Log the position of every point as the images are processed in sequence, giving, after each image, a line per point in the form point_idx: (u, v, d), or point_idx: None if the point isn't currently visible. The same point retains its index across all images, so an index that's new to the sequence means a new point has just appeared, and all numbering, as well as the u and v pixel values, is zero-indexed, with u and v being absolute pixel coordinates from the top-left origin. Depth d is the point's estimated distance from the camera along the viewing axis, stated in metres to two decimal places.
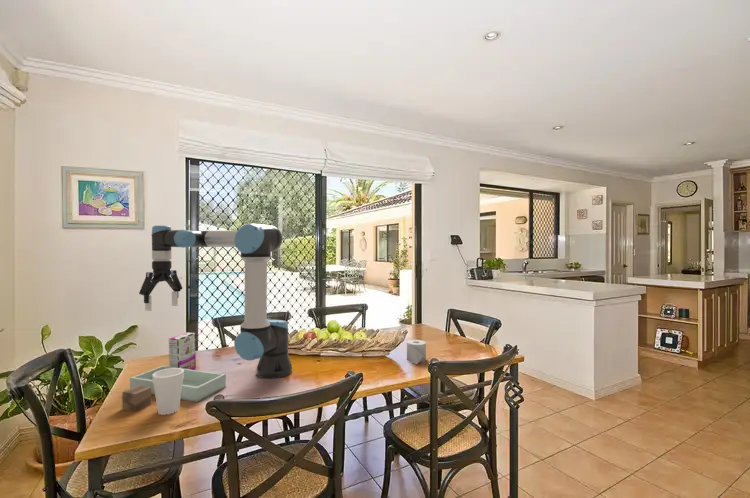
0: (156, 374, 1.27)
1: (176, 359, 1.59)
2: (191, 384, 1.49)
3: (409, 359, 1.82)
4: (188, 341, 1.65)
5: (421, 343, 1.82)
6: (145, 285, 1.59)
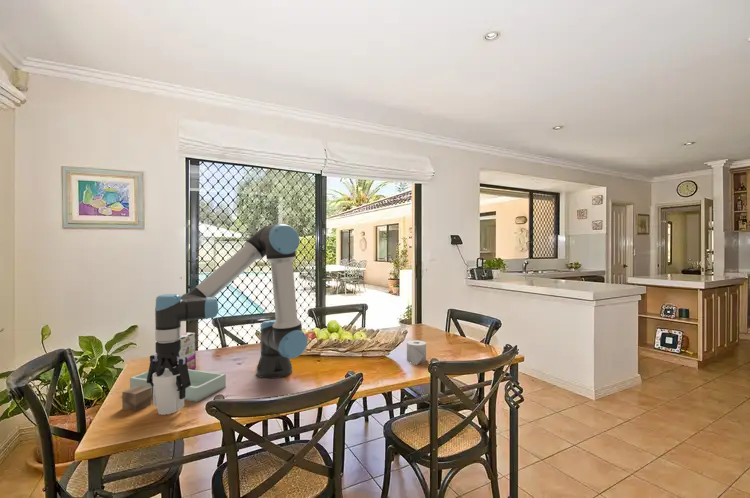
0: (156, 374, 1.27)
1: None
2: (191, 384, 1.49)
3: (409, 360, 1.81)
4: (188, 341, 1.65)
5: (421, 343, 1.82)
6: None
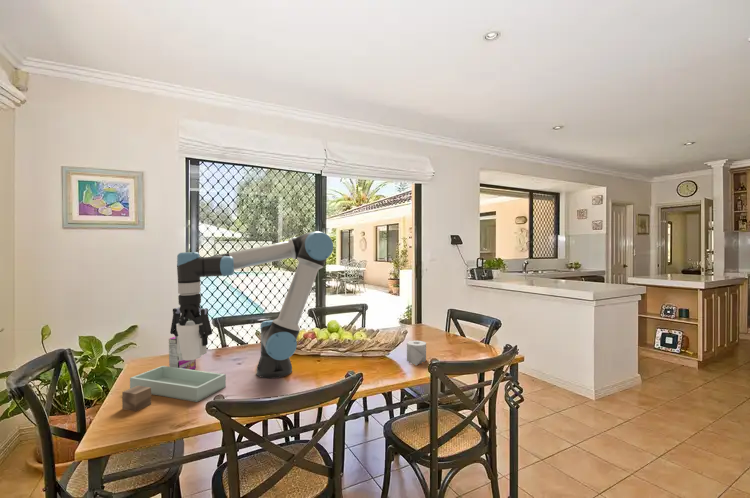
0: (179, 325, 1.39)
1: (176, 359, 1.59)
2: (191, 384, 1.49)
3: (409, 360, 1.80)
4: None
5: (421, 344, 1.81)
6: None
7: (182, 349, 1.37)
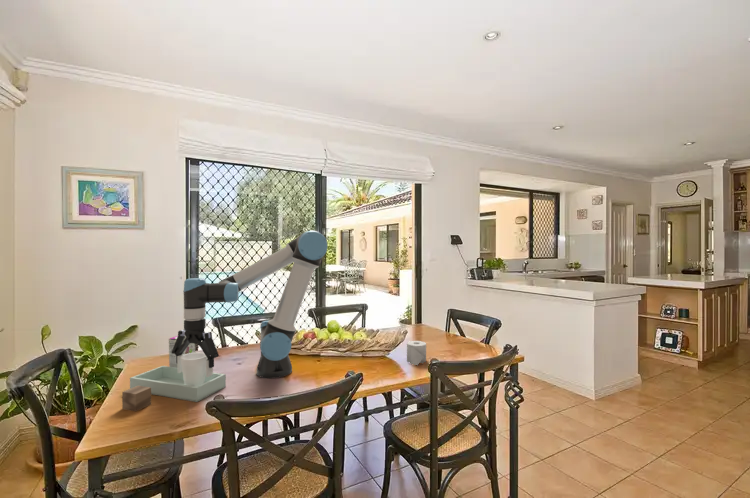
0: (183, 357, 1.44)
1: None
2: None
3: (409, 360, 1.80)
4: None
5: (421, 344, 1.81)
6: None
7: (185, 381, 1.41)
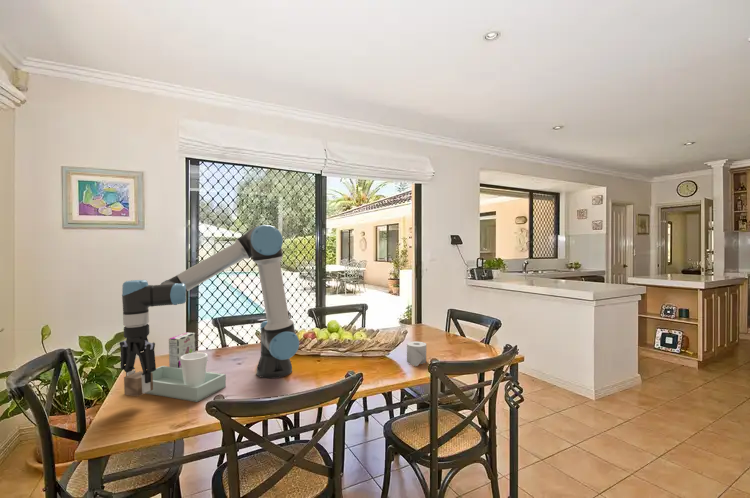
0: (183, 357, 1.44)
1: (176, 359, 1.59)
2: None
3: (409, 361, 1.79)
4: (188, 341, 1.65)
5: (421, 345, 1.79)
6: None
7: (185, 382, 1.41)
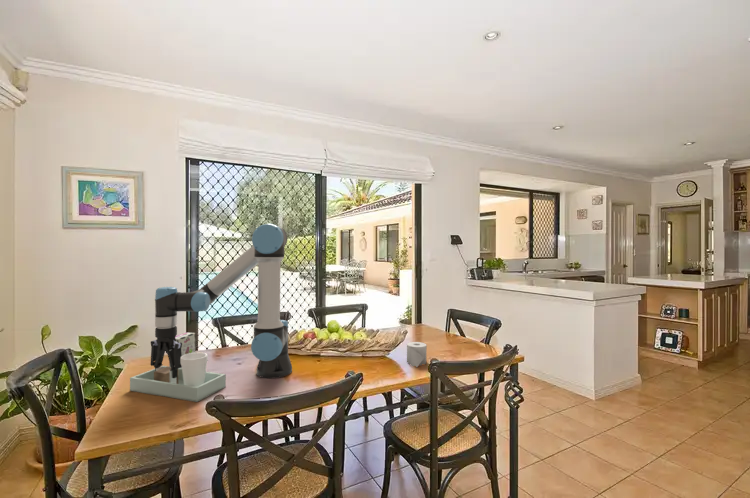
0: (183, 357, 1.44)
1: None
2: None
3: (409, 362, 1.78)
4: (188, 341, 1.65)
5: (421, 345, 1.78)
6: None
7: (185, 382, 1.41)
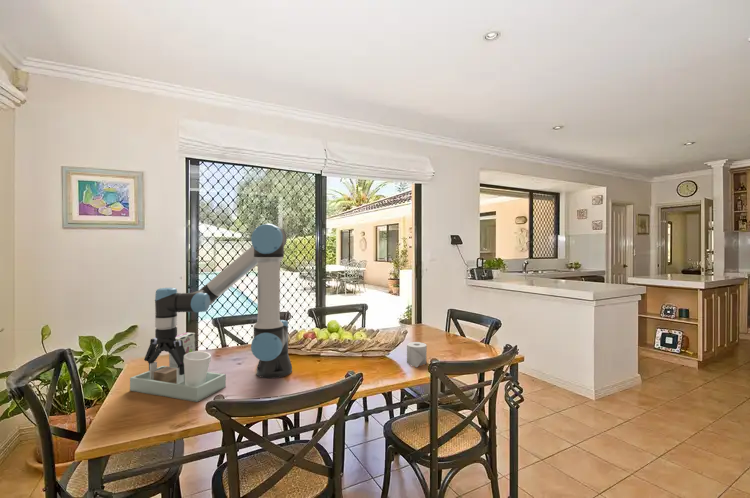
0: (186, 356, 1.43)
1: None
2: None
3: (409, 362, 1.78)
4: (188, 341, 1.65)
5: (421, 345, 1.78)
6: None
7: (186, 380, 1.41)
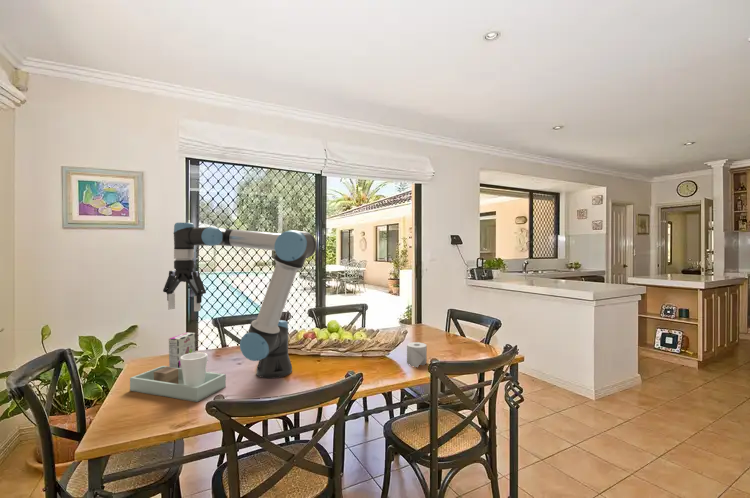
0: (183, 357, 1.44)
1: (176, 359, 1.59)
2: None
3: (409, 362, 1.77)
4: (188, 341, 1.65)
5: (421, 346, 1.78)
6: None
7: (185, 382, 1.41)
